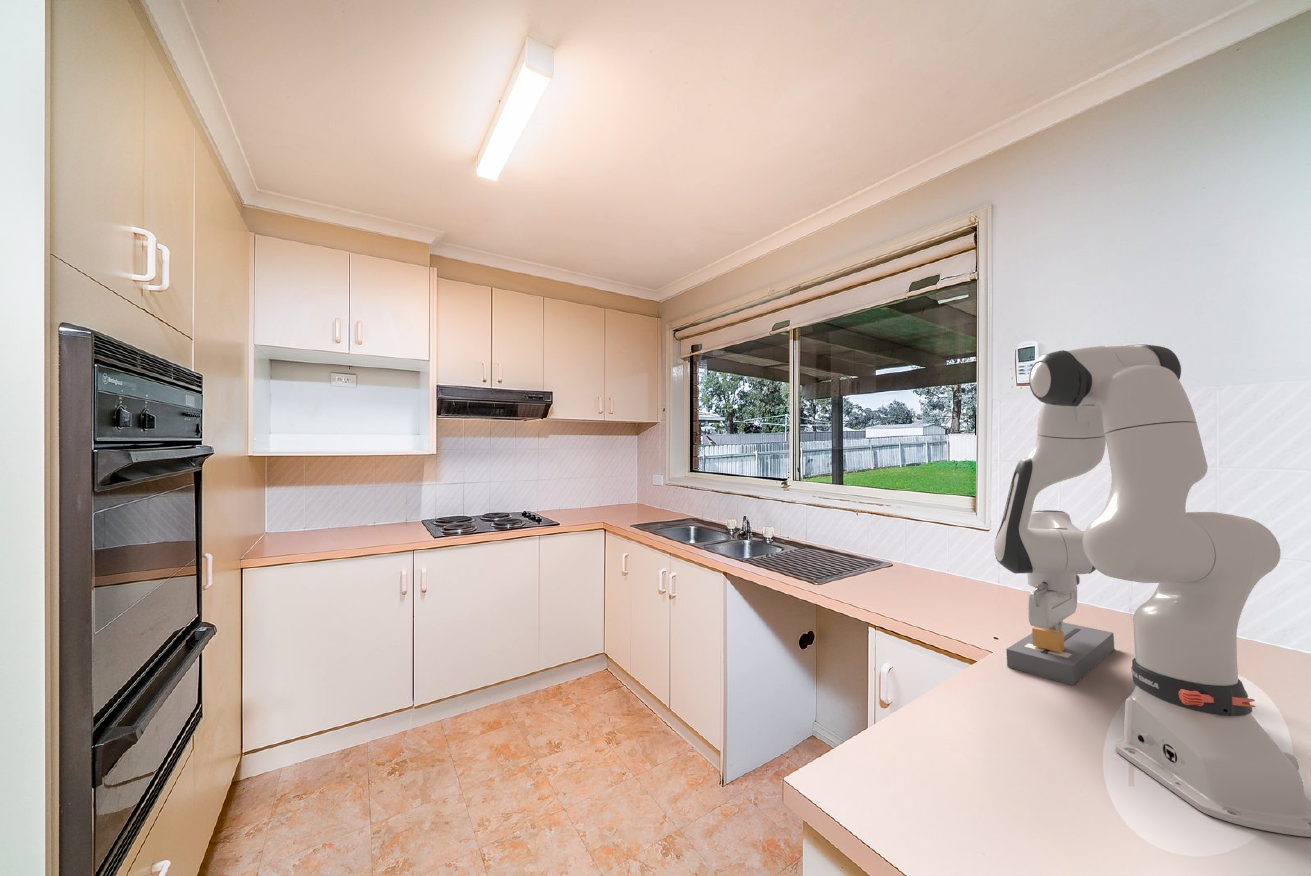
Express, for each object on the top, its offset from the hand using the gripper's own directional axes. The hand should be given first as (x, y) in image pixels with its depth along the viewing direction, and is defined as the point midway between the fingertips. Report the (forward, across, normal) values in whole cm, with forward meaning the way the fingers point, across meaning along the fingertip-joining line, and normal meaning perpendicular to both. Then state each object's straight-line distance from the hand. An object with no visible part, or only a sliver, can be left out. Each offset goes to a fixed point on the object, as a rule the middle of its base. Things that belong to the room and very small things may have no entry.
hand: (1054, 639), depth 113 cm
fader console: (+6, +5, 0) cm, 8 cm away
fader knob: (+1, -4, 0) cm, 4 cm away
